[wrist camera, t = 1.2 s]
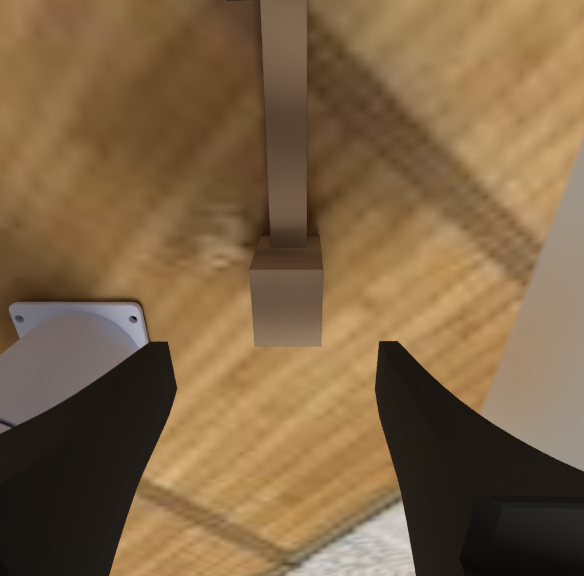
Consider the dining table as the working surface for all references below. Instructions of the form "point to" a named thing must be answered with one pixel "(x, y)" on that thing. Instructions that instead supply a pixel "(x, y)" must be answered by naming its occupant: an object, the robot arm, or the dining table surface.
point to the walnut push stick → (286, 190)
